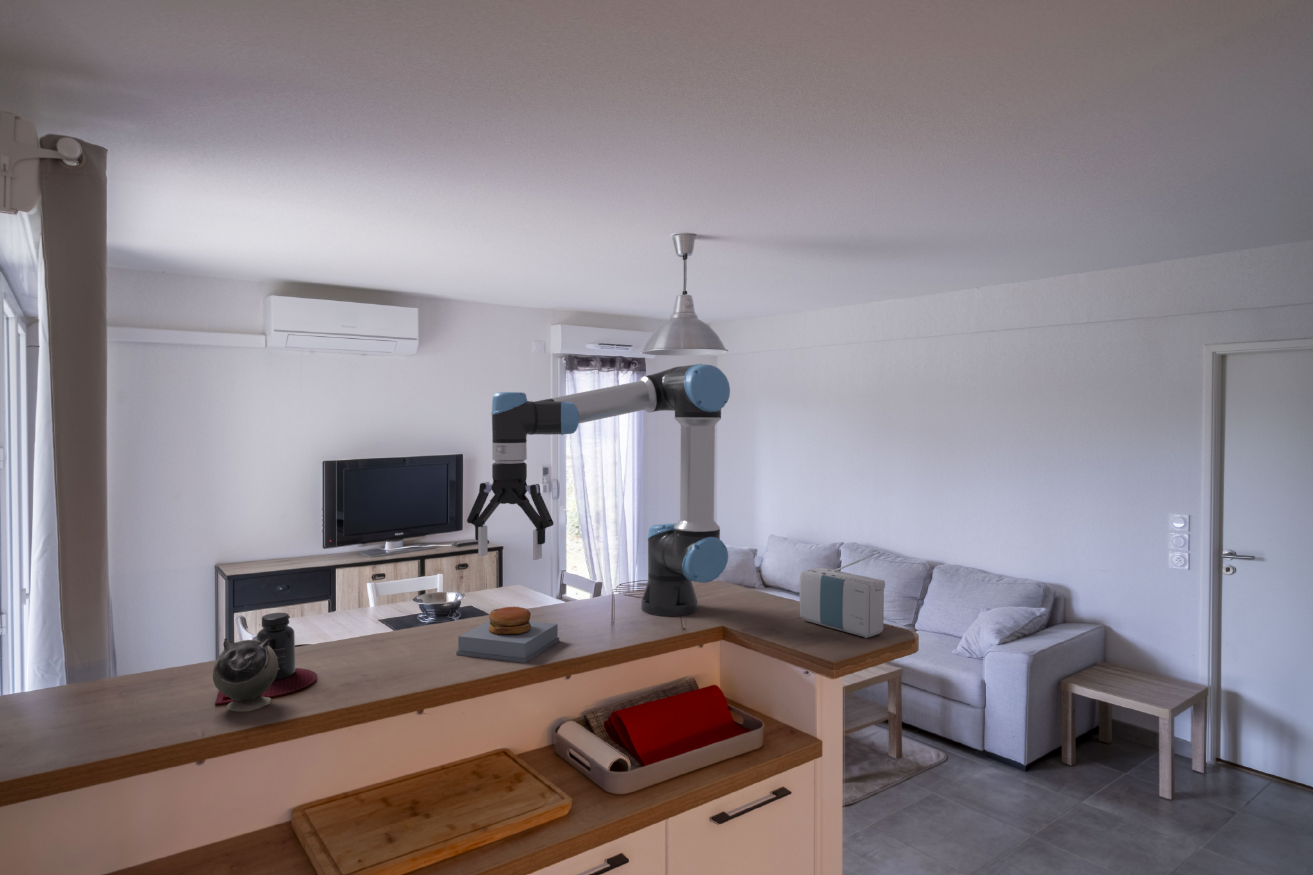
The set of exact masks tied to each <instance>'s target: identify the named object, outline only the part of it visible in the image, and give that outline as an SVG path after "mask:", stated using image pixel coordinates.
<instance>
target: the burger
mask: <svg viewBox="0 0 1313 875" xmlns="http://www.w3.org/2000/svg"><path fill="white" fill-rule="evenodd" d="M488 619H489V621H490V627H489V631H490V632H491V633H494V634H503V633H504V634H520V633H524V632H527V631H529V630H530V629H531V624H530V622H529V621H531V611H530V610H529V609H527V608H525V607H520V606H507V607H502V608H495V609H491V612H490V613H489V614H488Z"/></svg>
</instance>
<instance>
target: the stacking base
mask: <svg viewBox="0 0 1313 875" xmlns="http://www.w3.org/2000/svg"><path fill="white" fill-rule="evenodd" d="M529 622H530V624H531V629H530V630H529V631H527V632H524V633H520V634H504V633H503V634H494V633H491V632H490V631H489V627H490V620H488V621H486V622H485V623H482V624H480V625H478V626H476V627H474V628H473V629H470V630H468V631H467V632H464V633H462V634H460V635H458V644H457V645H458V649H457V650H456V653H455V654H456V656H464V657H471V658H472V657H473V658H480V659H482V658H483V659H487V660H488V659H489V660H498V661H507V662H515V663H524V664H526V663H528V662H529V661H531V660H532V659H534V658H535V657H537V656H539V655H540V654H542V653H543V652H544V651H546V650H548V649H549V648H550V647H552V646H554V645H555V644H557V643H558V642H560V637H558V632H559V631H558V629H559V628H558V626H559V625H558V623H552V622H543V621H542V622H541V621H534V620H529Z"/></svg>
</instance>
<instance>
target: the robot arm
mask: <svg viewBox="0 0 1313 875" xmlns="http://www.w3.org/2000/svg"><path fill="white" fill-rule="evenodd" d="M730 393H731V387H730V382H729V380H728V378H727V376H726V375H725V373H724V372H723V371H722V370H721V369H720V368H719V367H717V366H715V365H712V364H706V363H705V364H703V363H697V364H691V365H690V364H689V365H682V366H676V367H671V368H667V369H666V370H662V371H660V372H657V373H652V374H649V375H644V376H641V377H640V378H639V380H638V381H634V382H629V383H623V384H618V385H617V384H616V385H613V386H608V387H602V388H597V389H592V390H588V391H587V390H585V391H581V392H577V393H570V394H566V395H561V396H555V397H552V398H547V399H546V398H545V399H542V400H541V399H540V400H537V401H536V400H535V401H533V400H531V401H530V400H528V399H527V394H526V393H525V392H521V391H520V392H518V391H511V392H510V391H509V392H508V391H499V392H496V393H494V395H492V402H491V403H492V404H491V413H490V414H491V430H492V431H491V433H492V437H491V438H492V442H491V444H492V446H491V448H492V449H491V450H492V453H491V454H492V456H491V458H492V460H493V463H492V464H491V470H492V473H491V477H492V483H490V482H489V481H486V482H481V483H480V484H479V488H478V494H477V496H476V499H475V500H474V503H473V505H472V507H471V509H470V512H469V514H468V517H467V519H466V523H468V524H472V525H473V526H474V535H475V536H474V538H475V541H478V542H477V544H478V546H477V547H478V548H477V549H478V551H477V552H478V554H477V556H478V557H483V556H486V555H488V553H489V552H488V525H486V523H487V521H488V519H489V518H490V517H491V516H492V515H493V513H494V512H495V510H496V509H497V508H498V507H499V505H500V504H502V505H506V504H509V505H518V507H520V508H521V510H522V511H523V512H524V514H525V515H526V517H528V519H529V521H530V522H531V523H532V525H533V526H534V527H535V529H533V531H532V559H533V561H537V560H540V559H542V558H543V553H542V552H543V551H542V550H543V549H542V548H543V547H542V546H543V545H544V544H546V529H547V528H550V527H552V526H553V525H554V521H553V518H552V517H551V513H550V512H549V509H548V507H547V505H546V503H545V500H544V498H543V496H542V494H541V486H540V484H539V483H535V484H529V485H528V484H527V476H528V471H527V466H528V465H527V463H526V462H525V461H526V460H527V459H528V458H527V457H528V456H527V455H528V453H527V452H528V451H527V450H528V449H527V442H528V441H527V438H528V437H527V435H532V436H533V435H543V436H544V435H545V436H546V435H561V436H563V435H571V434H574V433H575V432H577V430H578V427H579V424H584V423H588V422H592V421H598V420H602V419H606V418H611V417H616V416H621V415H626V414H630V413H636V412H641V411H645V412H647V413H653V412H663V411H670V412H671V411H672V412H673V411H674V419H675V421H676V422H677V423H678V424H679V425H680V458H679V460H680V464H679V465H680V470H679V471H680V472H679V473H680V474H679V476H680V480H679V484H680V485H679V486H680V487H679V488H680V489H679V494H680V495H679V496H680V497H679V520H678V522H677V523H676V522H675V523H661V524H659V523H658V524H653V525H651V526H650V527H649V529H648V533H647V534H648V535H647V567H648V568H647V572H648V573H647V582H646V585H645V589H644V590H643V591H644V592H643V595H642V598H641V606H640V608H641V611H643V612H644V613H647V614H649V615H650V614H651V615H655V616H666V617H672V616H673V617H677V616H685V615H691V614H694V613H696V612H697V611H698V610H699V609H698V607H699V602H698V598H697V595H696V592H695V588H694V585H693V582H694V583H701V584H706V583H710V582H713V581H714V580H717V579H718V578H719V577H720V576H721V574H722V573H723V572H724V571H725V569H726V568H727V564H728V561H729V551H728V547H727V546H726V544H725V543H724V542H723V540H721V526H720V525H718V524H717V522H716V521H715V463H716V462H715V461H716V460H715V455H716V454H715V453H716V451H715V450H716V449H715V448H716V445H715V444H716V442H715V441H716V440H715V439H716V435H715V434H716V429H715V428H716V424H718V422H720V420H721V419H722V409H723V408H724V407H725V405H726V404H727V403H728V401H729V399H730ZM491 491H492V493H493V494H494V495H493V496H492V497H491V499H490V500H489V503H488V504H487V505H486V506H485V504H486V501H487V499H488V497H489V494H490V493H491ZM527 492H528V494H529V495H530V496H531V500H532V502H533V503H534V504H533V505H534V507H533V505H532V503H530V499H529V497H527V496H526V494H527ZM484 506H485V508H484ZM483 508H484V509H483ZM535 509H536V510H535Z"/></svg>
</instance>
